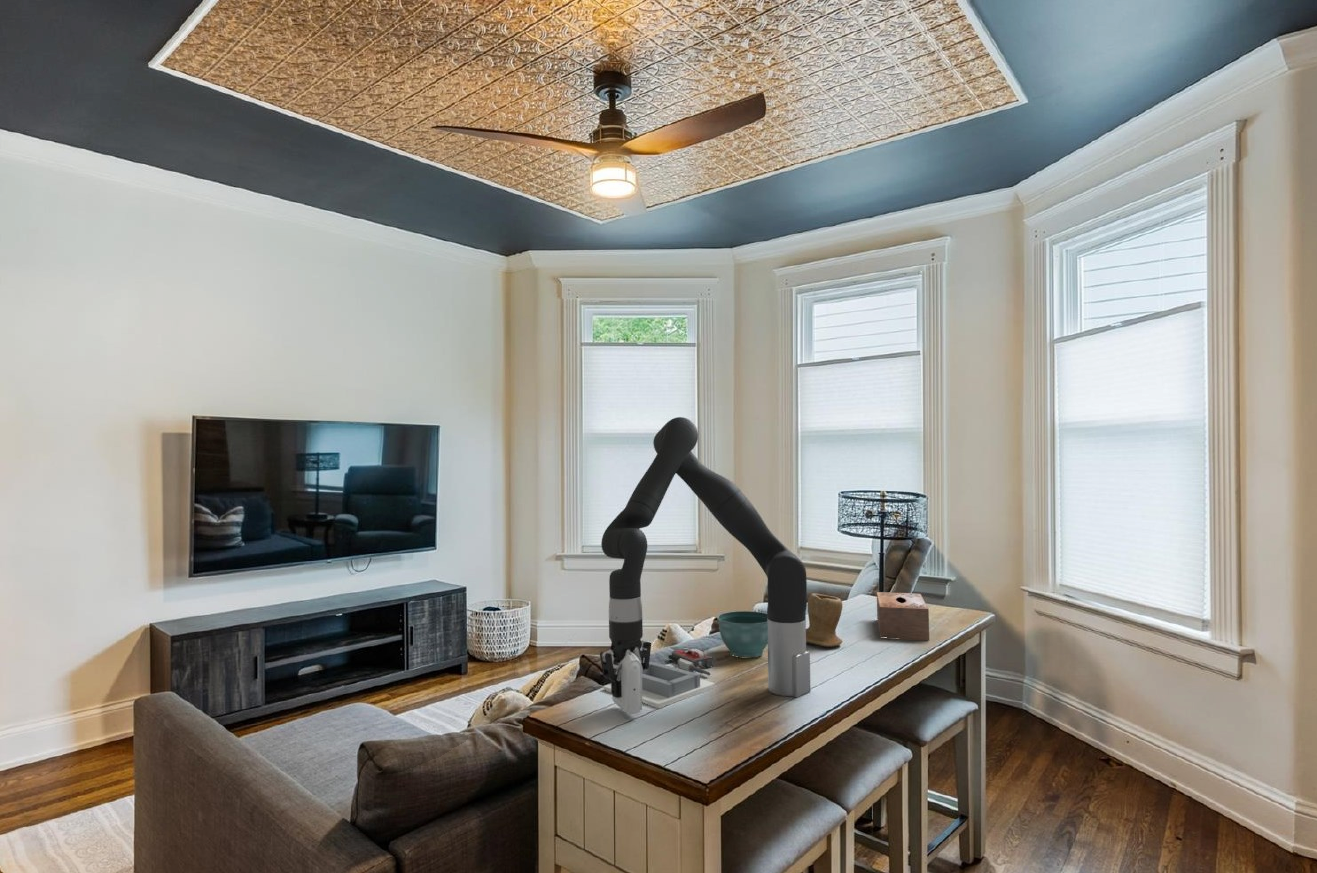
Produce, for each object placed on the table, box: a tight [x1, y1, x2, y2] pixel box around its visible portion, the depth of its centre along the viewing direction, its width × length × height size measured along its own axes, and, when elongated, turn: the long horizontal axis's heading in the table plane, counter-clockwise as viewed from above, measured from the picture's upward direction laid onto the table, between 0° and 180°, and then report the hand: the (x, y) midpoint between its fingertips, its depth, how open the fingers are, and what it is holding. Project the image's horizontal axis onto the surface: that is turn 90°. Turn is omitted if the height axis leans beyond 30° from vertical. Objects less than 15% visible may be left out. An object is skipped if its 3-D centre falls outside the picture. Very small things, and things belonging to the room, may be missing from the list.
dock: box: [602, 660, 716, 709], centre depth 172 cm, size 19×20×4 cm
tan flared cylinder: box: [806, 592, 843, 647], centre depth 213 cm, size 15×12×15 cm
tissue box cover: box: [876, 591, 930, 641], centre depth 229 cm, size 26×14×10 cm, turn 165°
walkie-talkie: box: [667, 647, 714, 676], centre depth 190 cm, size 9×4×20 cm
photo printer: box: [611, 652, 643, 715], centre depth 155 cm, size 10×4×12 cm, turn 25°
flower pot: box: [716, 610, 768, 659], centre depth 202 cm, size 16×16×11 cm
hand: (627, 693), depth 155 cm, fingers closed on photo printer, 5 cm apart
